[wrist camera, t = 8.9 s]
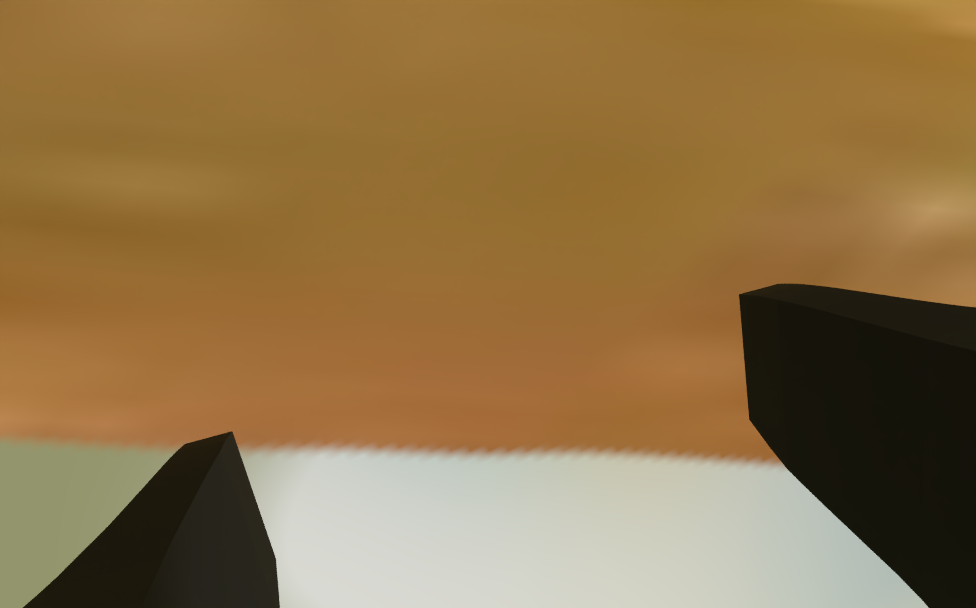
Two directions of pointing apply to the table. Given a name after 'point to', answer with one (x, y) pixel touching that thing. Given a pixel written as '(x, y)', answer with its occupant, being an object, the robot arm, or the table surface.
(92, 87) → the table surface
